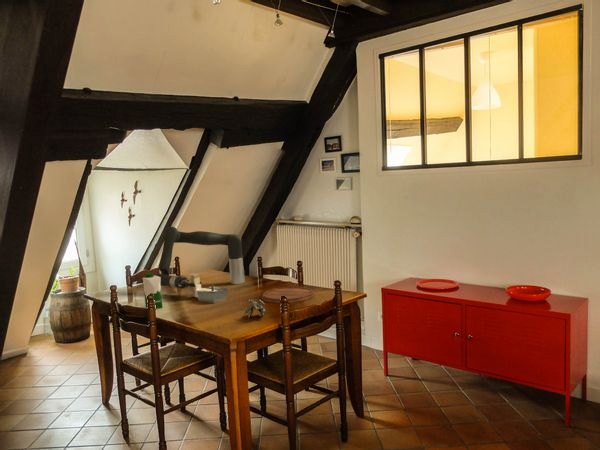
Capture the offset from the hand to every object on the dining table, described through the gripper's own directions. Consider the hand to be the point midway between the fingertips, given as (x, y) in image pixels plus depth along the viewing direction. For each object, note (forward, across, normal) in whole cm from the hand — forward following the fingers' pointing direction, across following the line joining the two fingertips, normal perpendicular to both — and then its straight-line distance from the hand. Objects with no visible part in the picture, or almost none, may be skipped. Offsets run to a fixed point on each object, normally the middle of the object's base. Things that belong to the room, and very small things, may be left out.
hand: (197, 284), depth 301 cm
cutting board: (+51, +24, +9) cm, 56 cm away
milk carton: (-8, -28, +9) cm, 30 cm away
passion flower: (+58, -18, +8) cm, 62 cm away
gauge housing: (+12, 0, +8) cm, 15 cm away
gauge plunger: (+6, 0, +7) cm, 10 cm away
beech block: (-3, 0, +7) cm, 7 cm away
